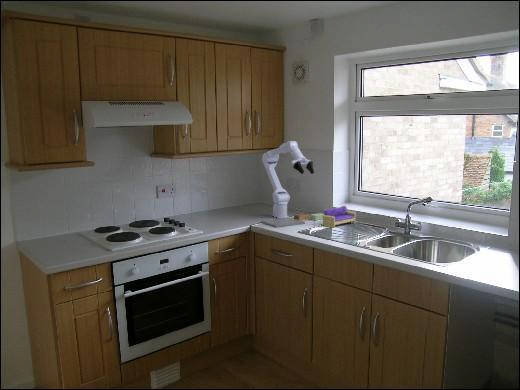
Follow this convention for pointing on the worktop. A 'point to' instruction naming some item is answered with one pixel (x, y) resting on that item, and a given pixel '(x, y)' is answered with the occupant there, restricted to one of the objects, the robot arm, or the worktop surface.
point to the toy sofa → (337, 216)
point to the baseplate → (282, 222)
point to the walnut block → (302, 217)
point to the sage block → (316, 217)
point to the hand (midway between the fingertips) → (308, 173)
